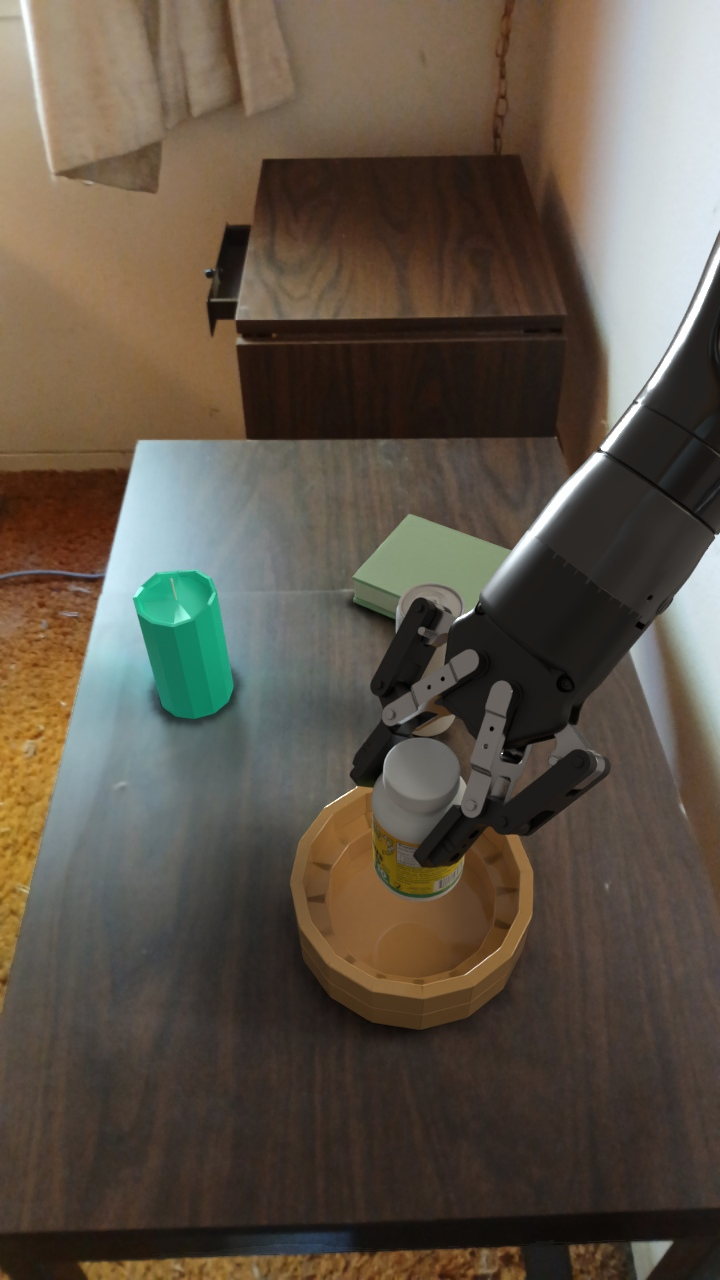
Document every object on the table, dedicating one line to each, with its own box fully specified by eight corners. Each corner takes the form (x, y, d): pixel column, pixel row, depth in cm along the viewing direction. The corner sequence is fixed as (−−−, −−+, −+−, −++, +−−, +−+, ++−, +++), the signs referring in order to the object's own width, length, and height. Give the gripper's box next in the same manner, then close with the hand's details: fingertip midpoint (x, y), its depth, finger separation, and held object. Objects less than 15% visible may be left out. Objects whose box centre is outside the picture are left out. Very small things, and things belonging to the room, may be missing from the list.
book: (536, 586, 79) (540, 561, 77) (487, 657, 73) (490, 632, 71) (408, 538, 84) (409, 513, 82) (352, 602, 78) (352, 576, 76)
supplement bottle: (462, 908, 51) (473, 815, 44) (369, 901, 51) (365, 808, 44) (463, 826, 54) (474, 729, 48) (376, 821, 55) (374, 724, 48)
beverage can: (451, 690, 71) (462, 579, 62) (460, 738, 67) (472, 628, 59) (391, 694, 71) (393, 582, 62) (396, 742, 67) (399, 632, 59)
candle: (247, 675, 72) (230, 564, 63) (208, 729, 68) (184, 619, 60) (184, 653, 74) (159, 542, 65) (143, 704, 70) (110, 593, 61)
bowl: (558, 879, 59) (570, 840, 56) (459, 1079, 51) (465, 1048, 47) (370, 785, 65) (370, 744, 61) (252, 952, 56) (243, 915, 52)
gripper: (463, 472, 45) (278, 726, 49) (681, 641, 36) (435, 930, 41) (531, 517, 51) (361, 741, 55) (732, 672, 42) (513, 922, 46)
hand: (393, 820), depth 48 cm, fingers closed on supplement bottle, 5 cm apart
